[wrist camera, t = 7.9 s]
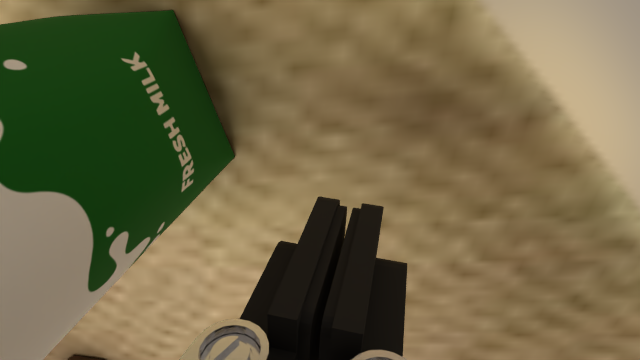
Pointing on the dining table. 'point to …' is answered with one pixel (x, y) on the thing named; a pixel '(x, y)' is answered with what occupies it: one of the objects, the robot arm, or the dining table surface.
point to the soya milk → (92, 161)
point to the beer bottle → (83, 358)
